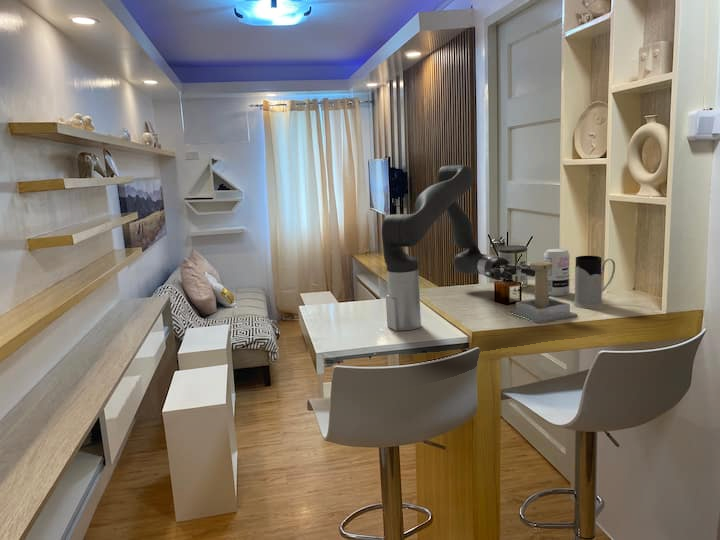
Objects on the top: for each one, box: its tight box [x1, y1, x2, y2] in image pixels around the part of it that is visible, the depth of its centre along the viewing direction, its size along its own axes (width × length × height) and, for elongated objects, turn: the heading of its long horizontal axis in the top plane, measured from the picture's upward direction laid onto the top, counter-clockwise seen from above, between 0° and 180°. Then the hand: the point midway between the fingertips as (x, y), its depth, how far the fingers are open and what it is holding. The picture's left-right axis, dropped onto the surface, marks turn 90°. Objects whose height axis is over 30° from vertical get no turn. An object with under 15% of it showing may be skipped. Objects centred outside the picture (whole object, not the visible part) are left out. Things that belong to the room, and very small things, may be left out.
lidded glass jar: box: [497, 244, 529, 289], centre depth 219 cm, size 10×10×14 cm
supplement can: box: [543, 248, 571, 297], centre depth 203 cm, size 8×8×15 cm
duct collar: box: [508, 297, 578, 325], centre depth 180 cm, size 14×14×4 cm
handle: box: [529, 261, 552, 308], centre depth 179 cm, size 5×6×15 cm
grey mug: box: [572, 255, 616, 309], centre depth 188 cm, size 9×14×15 cm, turn 108°
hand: (522, 275), depth 187 cm, fingers open, 8 cm apart
